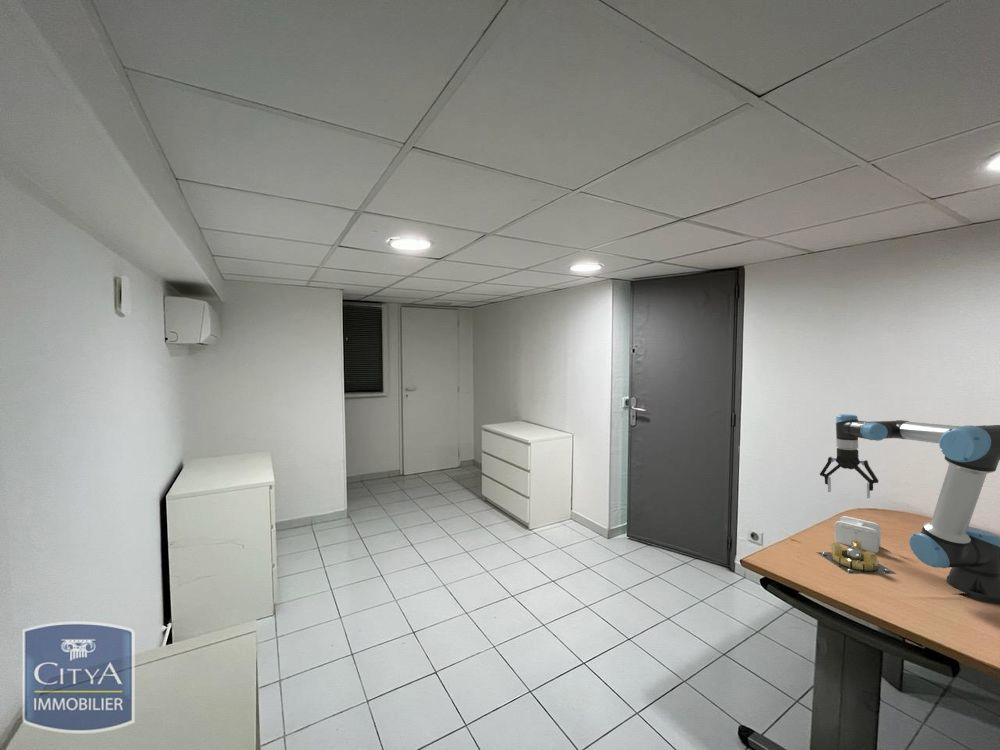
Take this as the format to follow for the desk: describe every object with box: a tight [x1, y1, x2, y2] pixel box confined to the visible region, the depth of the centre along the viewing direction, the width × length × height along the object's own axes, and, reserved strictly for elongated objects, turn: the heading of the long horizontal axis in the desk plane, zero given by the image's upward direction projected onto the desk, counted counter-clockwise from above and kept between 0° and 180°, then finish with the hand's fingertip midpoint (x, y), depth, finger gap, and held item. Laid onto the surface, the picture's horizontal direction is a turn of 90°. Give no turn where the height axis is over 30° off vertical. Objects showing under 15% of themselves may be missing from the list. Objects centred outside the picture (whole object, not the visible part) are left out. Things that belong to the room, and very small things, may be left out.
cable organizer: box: [834, 515, 882, 554], centre depth 183 cm, size 15×11×12 cm
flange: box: [816, 546, 897, 575], centre depth 167 cm, size 18×18×7 cm
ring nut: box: [830, 540, 879, 571], centre depth 167 cm, size 14×14×7 cm
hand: (848, 494), depth 184 cm, fingers open, 13 cm apart
